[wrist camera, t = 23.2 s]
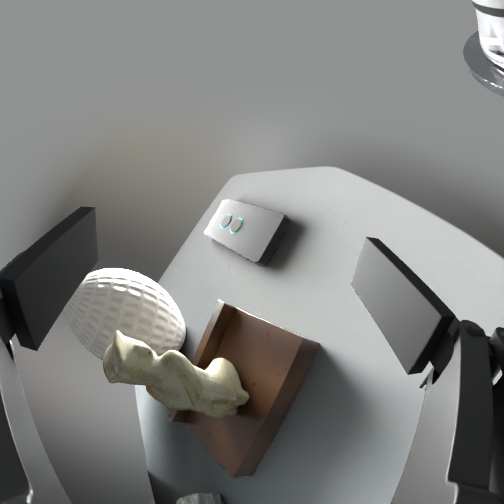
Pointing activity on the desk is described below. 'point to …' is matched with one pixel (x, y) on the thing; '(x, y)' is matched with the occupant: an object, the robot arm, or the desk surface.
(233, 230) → the smart home device
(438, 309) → the robot arm
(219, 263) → the desk surface
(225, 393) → the sculpture
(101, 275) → the vase
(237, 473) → the brown lipped tray
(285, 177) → the desk surface
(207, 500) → the decorative stone
